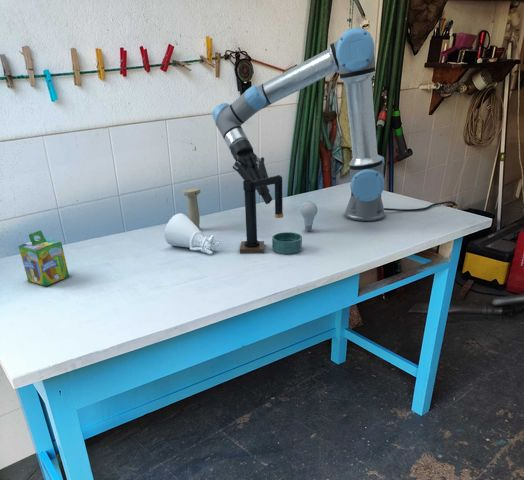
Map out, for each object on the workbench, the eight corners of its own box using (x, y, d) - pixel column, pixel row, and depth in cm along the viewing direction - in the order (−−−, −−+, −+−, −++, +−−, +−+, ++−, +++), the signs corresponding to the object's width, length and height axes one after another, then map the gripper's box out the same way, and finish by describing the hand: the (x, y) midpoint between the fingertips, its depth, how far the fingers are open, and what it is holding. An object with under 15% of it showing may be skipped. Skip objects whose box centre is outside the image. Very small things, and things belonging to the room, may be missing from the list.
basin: (301, 244, 183) (301, 232, 180) (302, 254, 174) (302, 241, 172) (272, 244, 183) (272, 232, 181) (272, 255, 174) (271, 242, 172)
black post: (264, 245, 183) (262, 187, 173) (263, 253, 176) (261, 193, 166) (241, 245, 184) (238, 187, 173) (239, 253, 177) (236, 193, 166)
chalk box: (46, 287, 157) (33, 239, 149) (26, 281, 161) (13, 235, 153) (70, 276, 163) (59, 230, 156) (51, 271, 168) (40, 226, 160)
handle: (205, 229, 200) (202, 189, 192) (192, 233, 196) (188, 192, 189) (198, 226, 203) (194, 187, 195) (184, 230, 200) (180, 190, 192)
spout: (250, 226, 173) (248, 183, 166) (242, 224, 176) (240, 181, 168) (286, 217, 181) (285, 175, 174) (278, 214, 184) (277, 173, 176)
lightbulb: (298, 233, 193) (298, 203, 187) (303, 228, 198) (303, 199, 192) (313, 234, 191) (314, 204, 185) (318, 229, 196) (319, 200, 190)
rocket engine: (219, 226, 171) (178, 206, 178) (200, 254, 170) (159, 234, 177) (230, 243, 182) (191, 224, 189) (212, 270, 181) (174, 250, 187)
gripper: (249, 149, 192) (278, 204, 189) (220, 154, 186) (250, 211, 183) (258, 135, 186) (288, 192, 183) (227, 140, 179) (258, 199, 176)
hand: (269, 201), depth 183 cm, fingers closed
